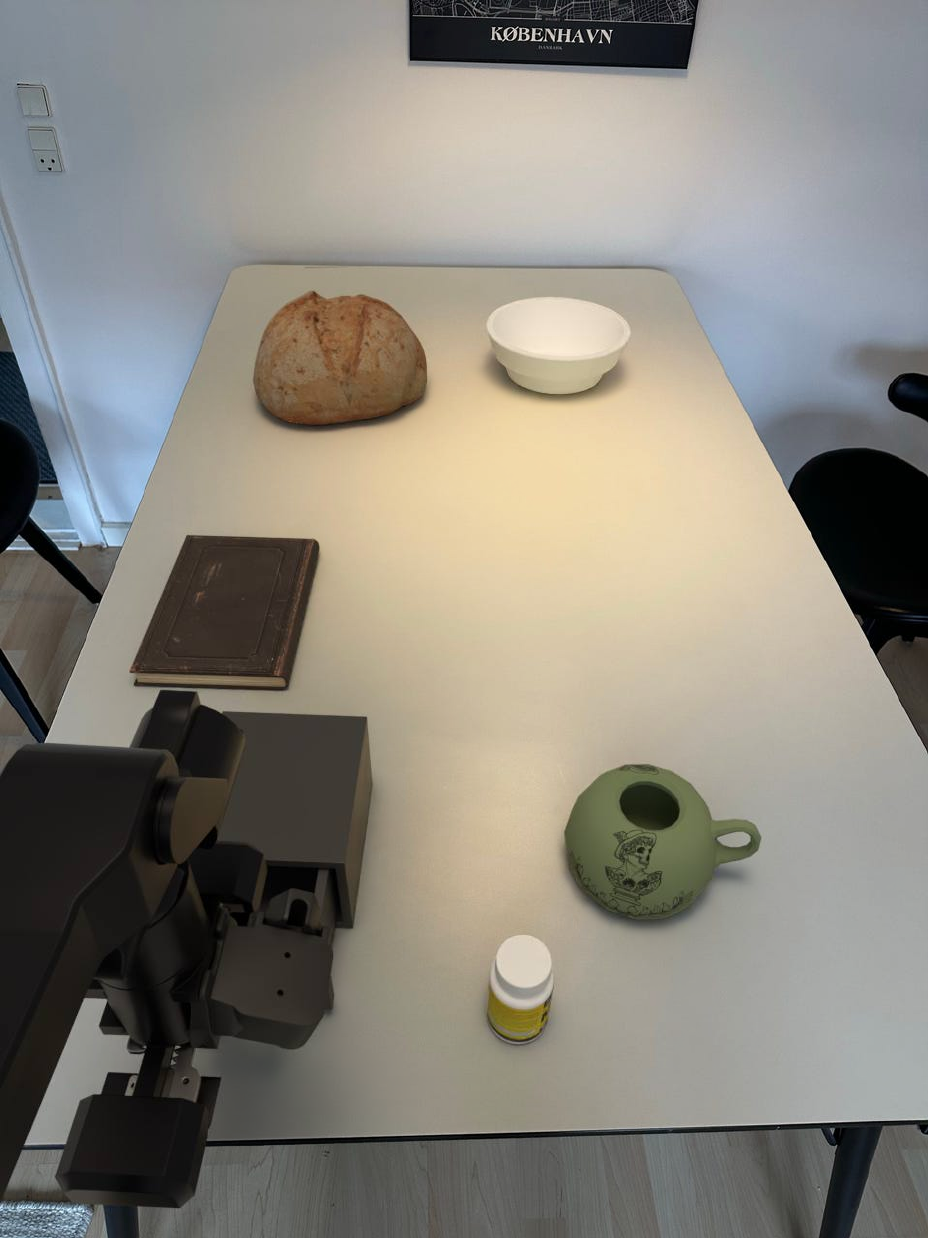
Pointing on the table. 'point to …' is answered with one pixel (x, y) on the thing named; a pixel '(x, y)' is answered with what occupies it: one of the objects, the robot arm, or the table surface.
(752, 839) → the mug
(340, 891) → the cabinet
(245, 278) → the table surface
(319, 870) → the drawer
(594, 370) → the bowl
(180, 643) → the hardcover book
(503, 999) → the supplement bottle
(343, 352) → the bread
